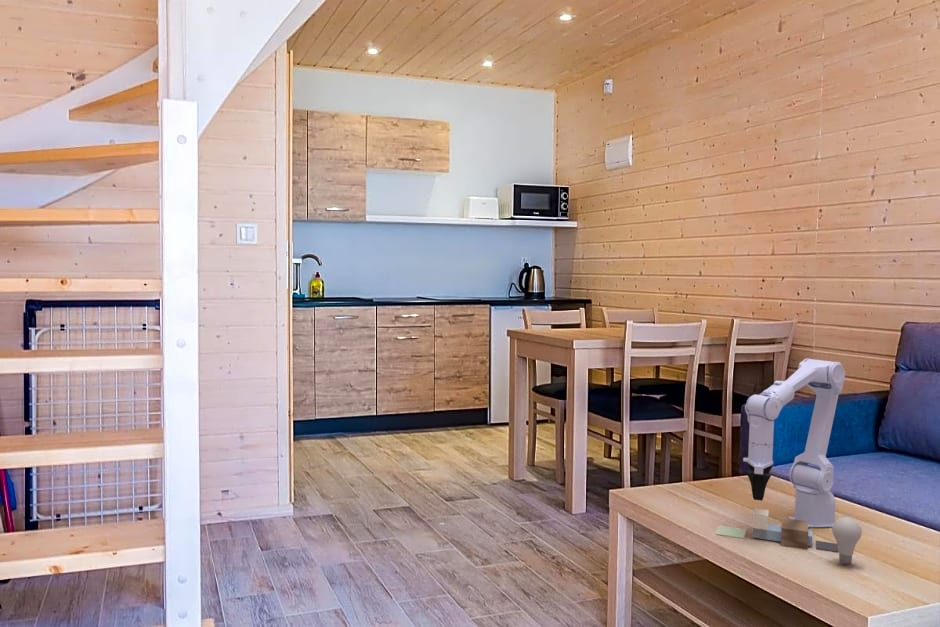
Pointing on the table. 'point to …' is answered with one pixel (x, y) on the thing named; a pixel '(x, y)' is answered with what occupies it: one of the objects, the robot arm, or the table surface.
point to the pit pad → (827, 546)
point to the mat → (730, 532)
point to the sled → (768, 527)
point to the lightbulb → (846, 537)
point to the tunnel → (794, 533)
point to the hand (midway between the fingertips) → (758, 495)
